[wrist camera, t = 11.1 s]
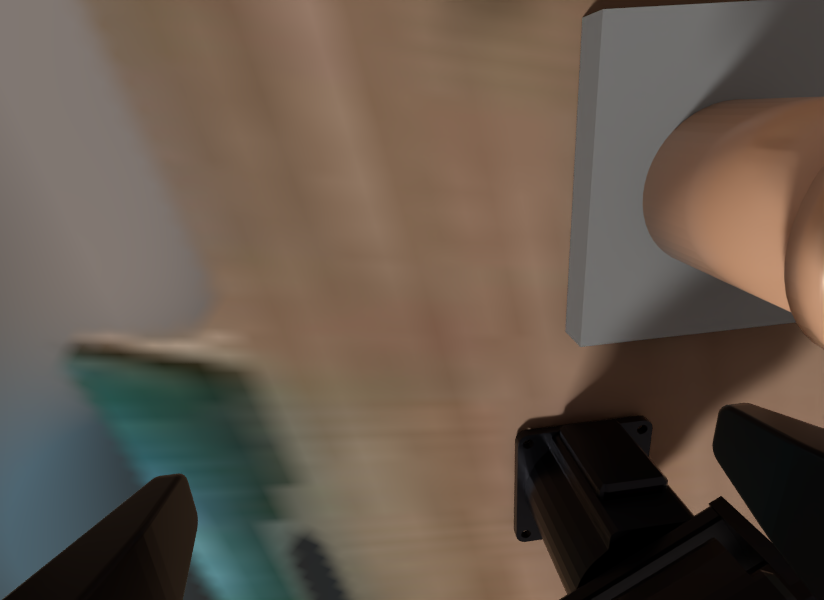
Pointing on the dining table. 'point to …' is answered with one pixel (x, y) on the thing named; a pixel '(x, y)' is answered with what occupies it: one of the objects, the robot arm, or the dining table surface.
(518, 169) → the dining table surface
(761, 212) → the terracotta pot
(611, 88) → the rubber mat
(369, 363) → the dining table surface
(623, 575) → the robot arm
